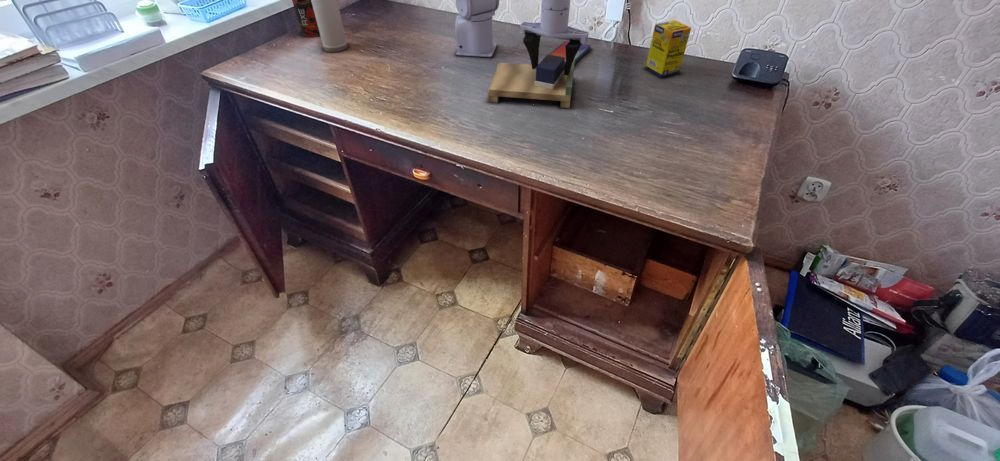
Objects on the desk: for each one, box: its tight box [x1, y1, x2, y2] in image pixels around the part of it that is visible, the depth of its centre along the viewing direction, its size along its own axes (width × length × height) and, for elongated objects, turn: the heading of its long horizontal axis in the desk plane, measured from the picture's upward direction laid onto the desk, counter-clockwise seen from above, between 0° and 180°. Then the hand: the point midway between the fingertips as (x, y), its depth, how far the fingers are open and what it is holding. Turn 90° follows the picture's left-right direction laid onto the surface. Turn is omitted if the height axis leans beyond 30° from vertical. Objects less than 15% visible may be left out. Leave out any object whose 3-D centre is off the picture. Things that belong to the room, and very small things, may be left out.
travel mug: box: [311, 0, 349, 53], centre depth 119 cm, size 6×7×20 cm
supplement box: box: [645, 19, 692, 78], centre depth 111 cm, size 6×6×11 cm
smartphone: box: [549, 40, 591, 64], centre depth 121 cm, size 7×15×1 cm, turn 151°
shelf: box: [488, 59, 576, 109], centre depth 106 cm, size 18×14×5 cm
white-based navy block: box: [534, 53, 566, 89], centre depth 104 cm, size 9×4×4 cm, turn 156°
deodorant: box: [291, 0, 320, 38], centre depth 129 cm, size 6×6×15 cm
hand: (550, 70), depth 104 cm, fingers open, 7 cm apart
